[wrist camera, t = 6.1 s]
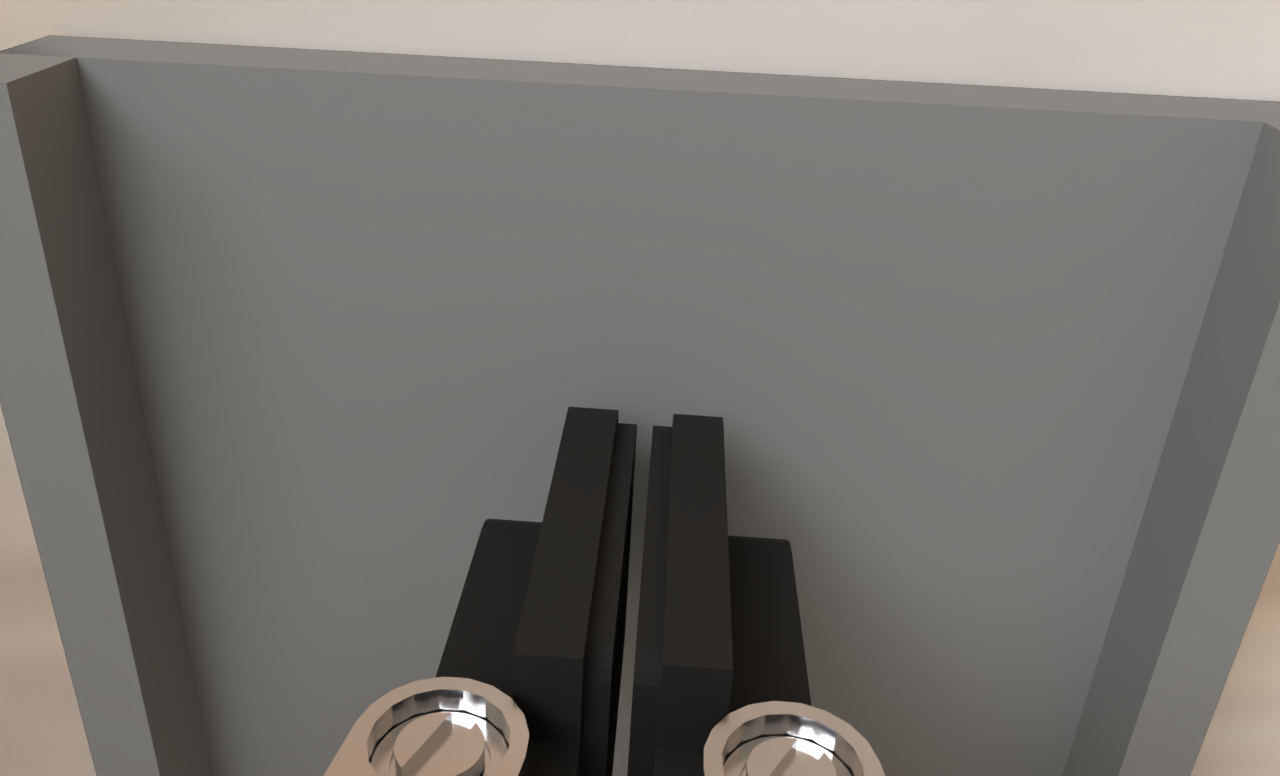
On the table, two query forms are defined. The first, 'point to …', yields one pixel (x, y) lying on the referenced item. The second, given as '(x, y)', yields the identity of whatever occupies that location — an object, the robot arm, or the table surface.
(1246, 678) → the table surface
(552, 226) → the tray
